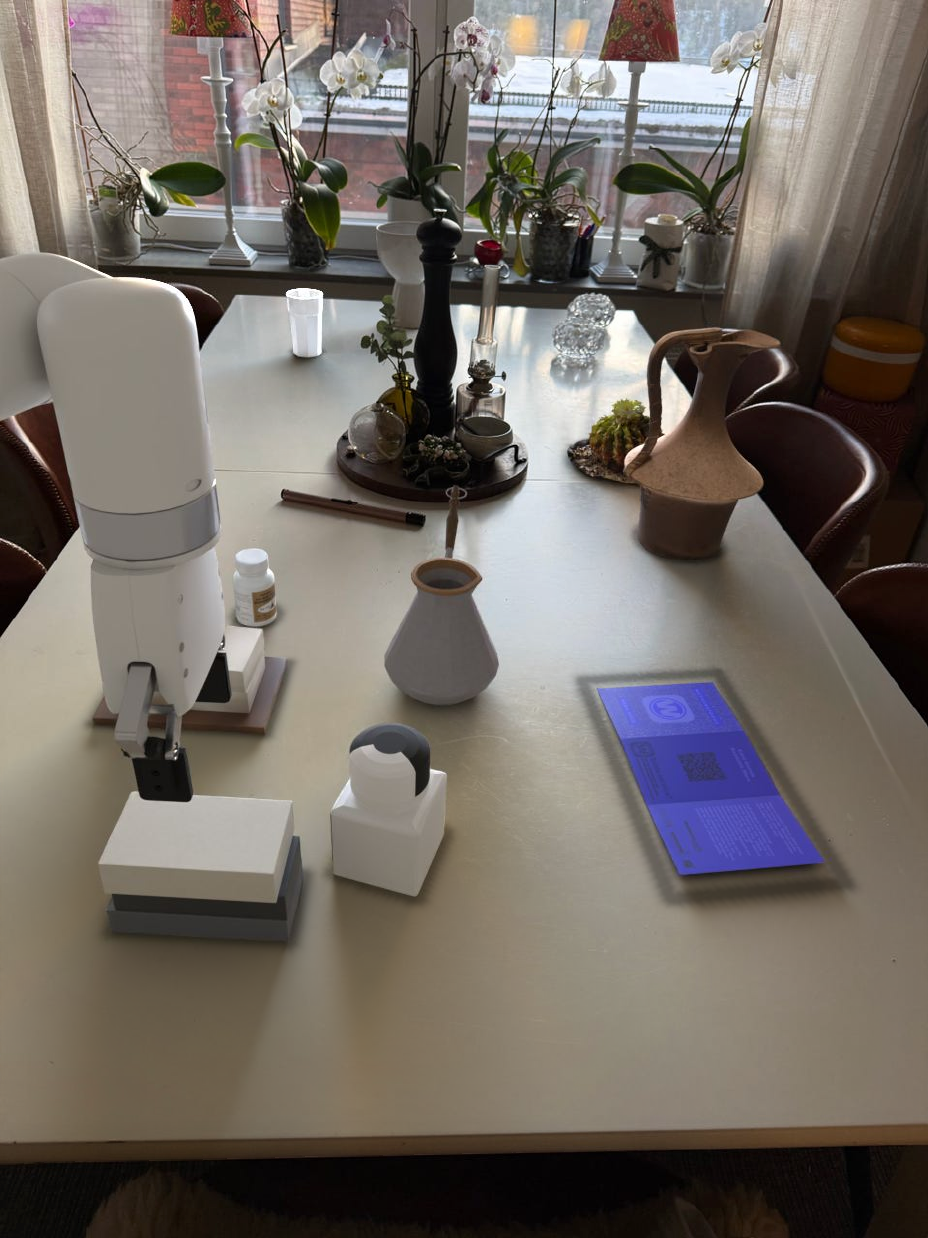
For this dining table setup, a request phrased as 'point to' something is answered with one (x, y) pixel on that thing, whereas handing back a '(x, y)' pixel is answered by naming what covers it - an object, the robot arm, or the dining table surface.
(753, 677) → the dining table surface
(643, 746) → the booklet
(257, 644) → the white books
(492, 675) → the coffee pot
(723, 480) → the pitcher
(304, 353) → the cup
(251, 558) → the pill bottle
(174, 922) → the grey books
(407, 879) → the blocky figurine
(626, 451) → the cactus
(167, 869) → the white book
